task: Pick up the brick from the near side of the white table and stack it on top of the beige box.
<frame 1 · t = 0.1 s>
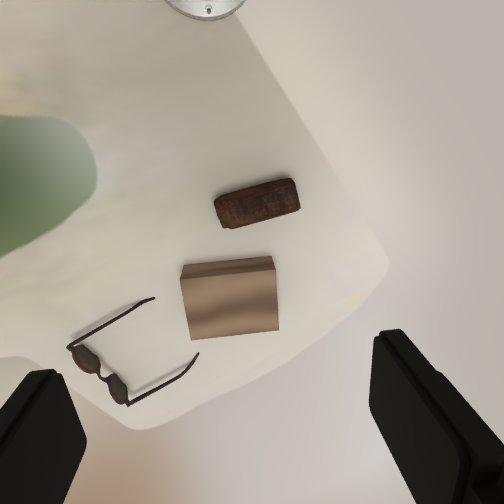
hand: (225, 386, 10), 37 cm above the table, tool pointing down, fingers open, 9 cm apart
eyeglasses: (141, 344, 53), on the table
beige box: (231, 288, 50), on the table
brick: (255, 199, 45), on the table
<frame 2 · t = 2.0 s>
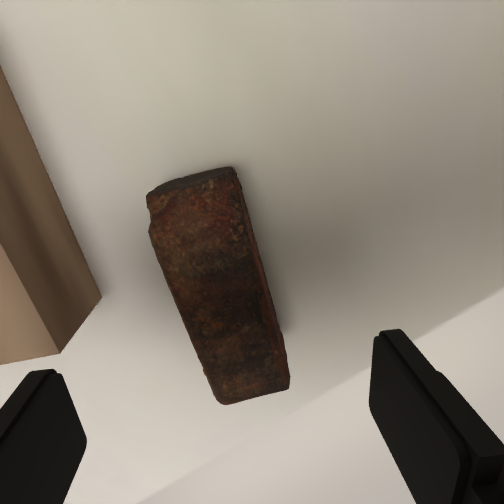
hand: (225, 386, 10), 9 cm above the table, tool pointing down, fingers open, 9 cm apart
brick: (227, 264, 18), on the table
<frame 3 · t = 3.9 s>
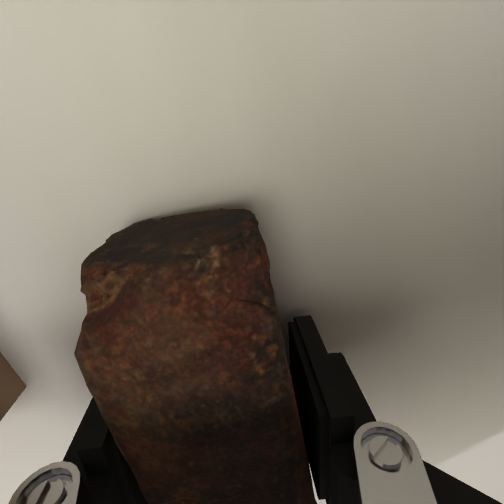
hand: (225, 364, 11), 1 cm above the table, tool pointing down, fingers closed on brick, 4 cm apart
brick: (226, 348, 12), on the table, touching gripper
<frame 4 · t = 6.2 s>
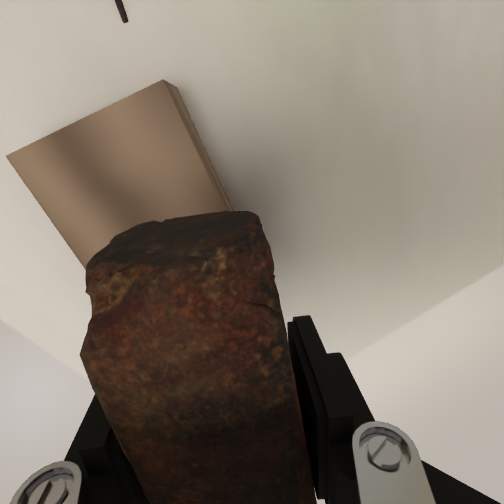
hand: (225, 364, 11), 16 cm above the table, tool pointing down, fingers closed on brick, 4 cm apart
beige box: (159, 202, 25), on the table
brick: (226, 349, 12), point 15 cm above the table, touching gripper
when the fingers open (7 cm above the table, at t = 8.6 s): brick drops 1 cm, point 4 cm above the table.
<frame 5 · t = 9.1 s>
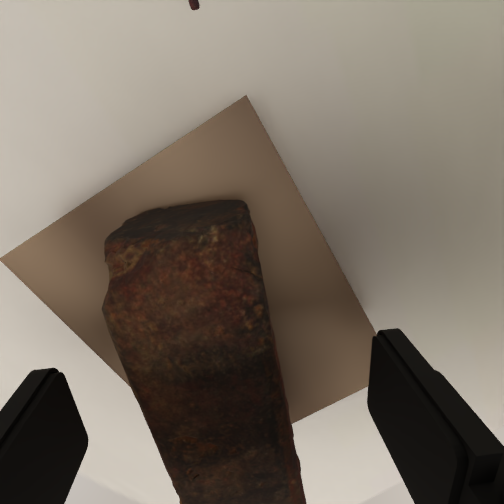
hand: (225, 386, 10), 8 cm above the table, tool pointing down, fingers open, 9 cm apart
beige box: (224, 269, 17), on the table
brick: (221, 325, 13), point 4 cm above the table
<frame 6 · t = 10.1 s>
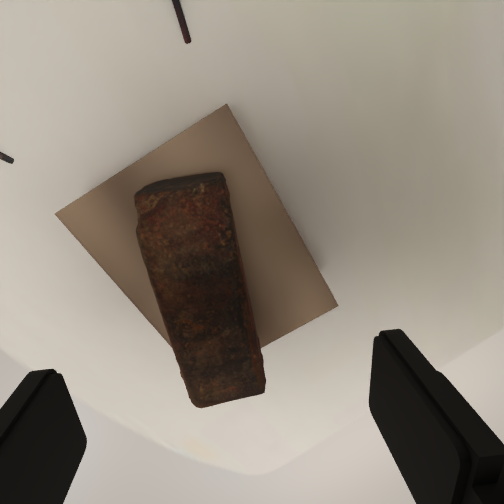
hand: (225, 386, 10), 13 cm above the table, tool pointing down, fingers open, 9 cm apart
beige box: (212, 235, 23), on the table, touching brick
brick: (208, 267, 18), point 4 cm above the table, touching beige box
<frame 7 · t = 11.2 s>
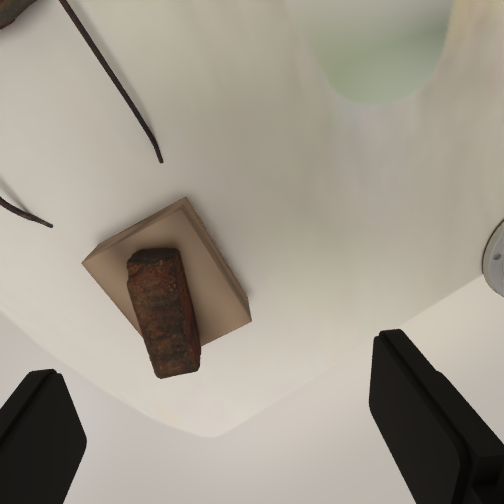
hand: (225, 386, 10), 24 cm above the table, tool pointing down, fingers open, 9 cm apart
eyeglasses: (54, 123, 28), on the table
beige box: (178, 270, 35), on the table, touching brick
brick: (170, 296, 30), point 4 cm above the table, touching beige box
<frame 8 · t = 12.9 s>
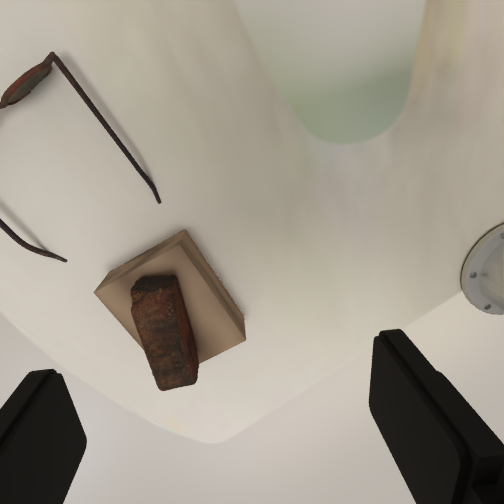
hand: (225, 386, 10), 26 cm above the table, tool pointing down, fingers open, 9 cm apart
eyeglasses: (65, 173, 33), on the table
beige box: (180, 293, 38), on the table, touching brick
brick: (171, 316, 34), point 4 cm above the table, touching beige box
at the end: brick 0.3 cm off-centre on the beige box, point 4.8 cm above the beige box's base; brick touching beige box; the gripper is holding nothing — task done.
